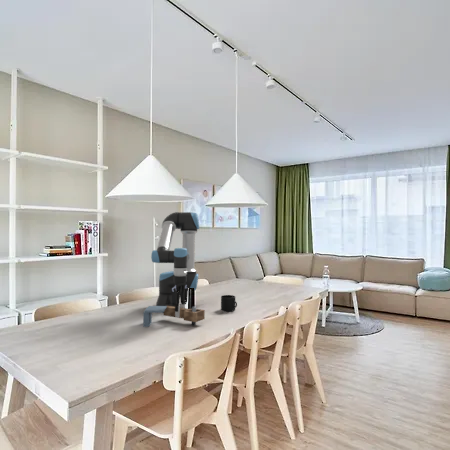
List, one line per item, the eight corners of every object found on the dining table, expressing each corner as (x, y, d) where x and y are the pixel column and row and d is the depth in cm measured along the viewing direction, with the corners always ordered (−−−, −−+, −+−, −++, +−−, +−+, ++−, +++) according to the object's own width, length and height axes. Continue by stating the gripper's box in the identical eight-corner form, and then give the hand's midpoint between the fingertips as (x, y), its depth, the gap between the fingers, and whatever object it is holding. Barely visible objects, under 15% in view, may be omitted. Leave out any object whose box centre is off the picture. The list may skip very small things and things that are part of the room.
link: (160, 316, 191) (160, 307, 191) (170, 313, 198) (170, 304, 198) (195, 322, 178) (195, 312, 178) (204, 319, 185) (204, 310, 185)
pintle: (190, 324, 184) (190, 306, 184) (193, 323, 186) (193, 306, 186) (194, 325, 182) (194, 307, 182) (196, 324, 184) (196, 306, 185)
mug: (232, 313, 210) (232, 299, 210) (217, 310, 217) (218, 296, 218) (241, 310, 217) (241, 296, 217) (227, 307, 225) (227, 294, 225)
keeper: (166, 321, 189) (166, 306, 189) (163, 327, 178) (163, 310, 178) (146, 321, 189) (147, 305, 189) (142, 327, 178) (142, 310, 178)
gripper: (176, 277, 181) (175, 320, 180) (194, 274, 195) (193, 314, 194) (165, 276, 185) (165, 318, 184) (184, 273, 198) (183, 312, 198)
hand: (179, 316), depth 189 cm, fingers closed on link, 3 cm apart
